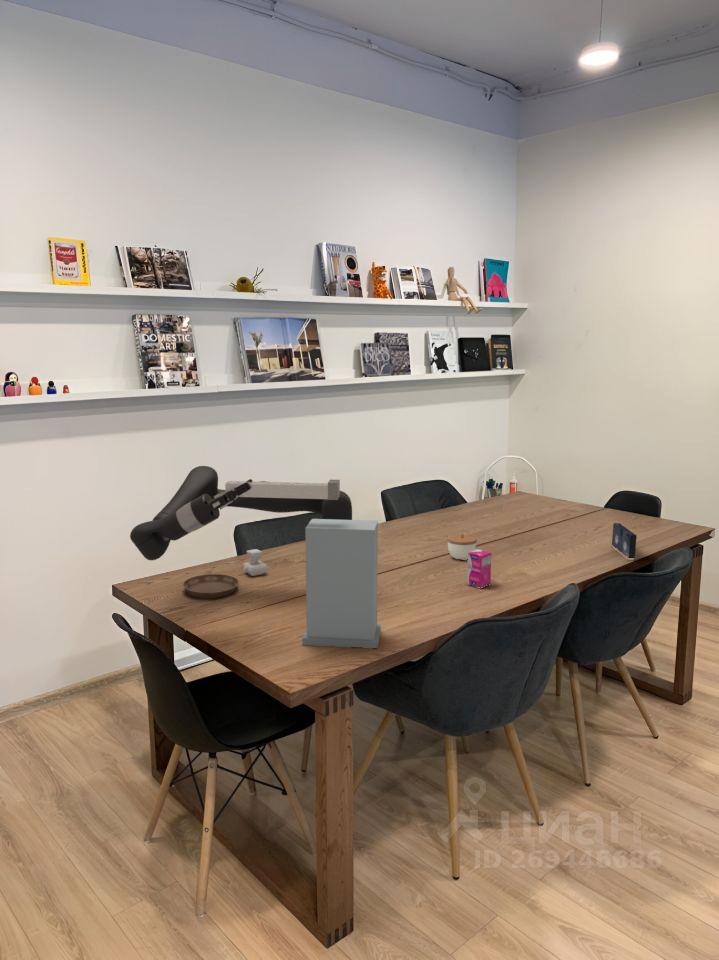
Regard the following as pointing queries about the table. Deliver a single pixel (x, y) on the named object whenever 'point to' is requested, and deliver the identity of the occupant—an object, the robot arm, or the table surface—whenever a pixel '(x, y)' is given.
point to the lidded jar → (461, 545)
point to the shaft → (289, 489)
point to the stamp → (255, 563)
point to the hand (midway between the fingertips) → (250, 483)
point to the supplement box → (479, 568)
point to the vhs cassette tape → (624, 540)
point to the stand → (341, 583)
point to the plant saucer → (210, 585)
